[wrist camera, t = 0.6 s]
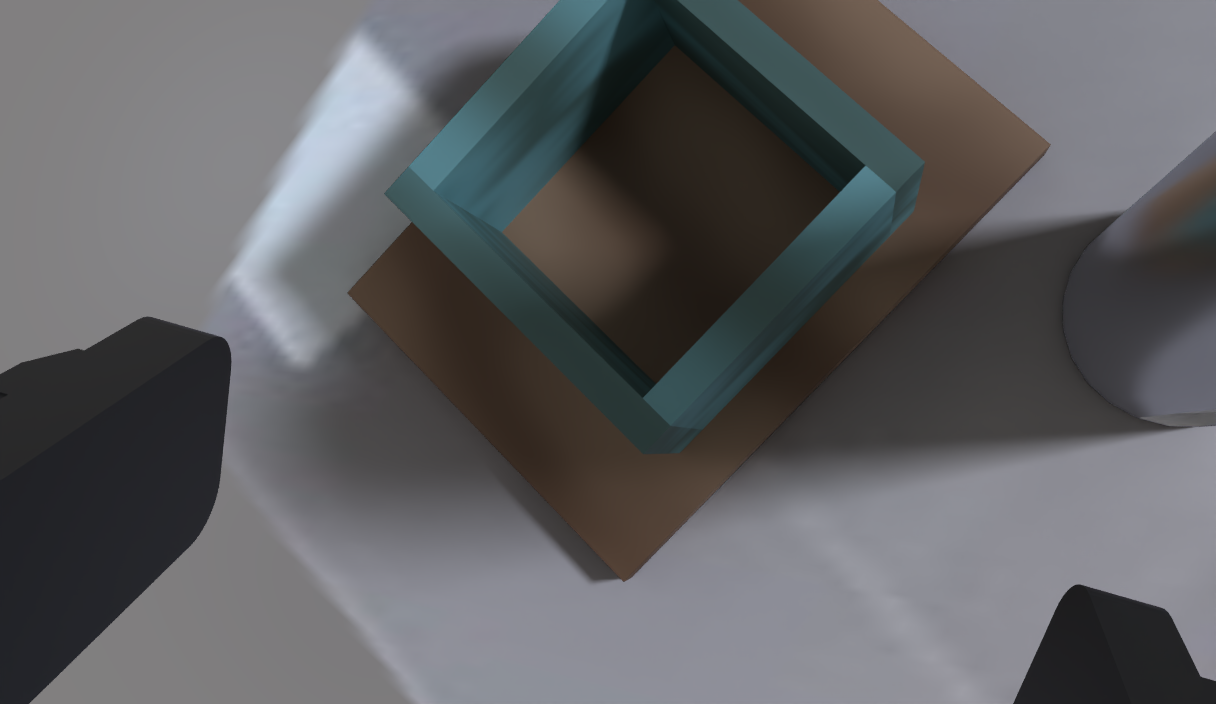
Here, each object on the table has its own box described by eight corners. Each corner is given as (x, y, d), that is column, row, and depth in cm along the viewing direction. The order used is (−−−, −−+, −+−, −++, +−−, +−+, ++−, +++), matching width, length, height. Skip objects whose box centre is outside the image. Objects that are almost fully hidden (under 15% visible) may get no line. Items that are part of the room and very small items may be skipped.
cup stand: (732, -106, 37) (702, -236, 30) (1044, 154, 34) (1091, 79, 27) (362, 297, 38) (252, 264, 31) (631, 577, 36) (575, 609, 29)
